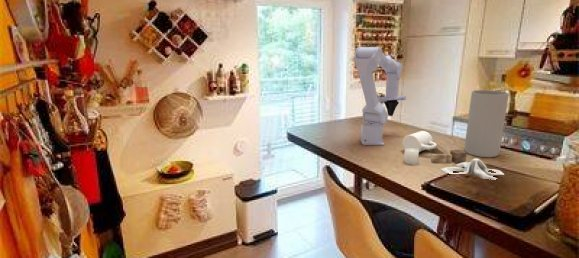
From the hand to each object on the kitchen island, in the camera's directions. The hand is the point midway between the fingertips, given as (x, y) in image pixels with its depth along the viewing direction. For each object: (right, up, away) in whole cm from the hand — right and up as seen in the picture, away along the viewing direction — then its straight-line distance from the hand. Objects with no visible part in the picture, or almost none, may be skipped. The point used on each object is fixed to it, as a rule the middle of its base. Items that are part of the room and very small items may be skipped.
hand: (390, 115), depth 158 cm
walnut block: (+16, -19, -33) cm, 41 cm away
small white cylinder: (-2, -19, -33) cm, 38 cm away
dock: (+10, -16, -23) cm, 30 cm away
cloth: (+16, -23, -46) cm, 54 cm away
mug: (+6, -16, -22) cm, 28 cm away
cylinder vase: (+30, -16, -24) cm, 42 cm away
